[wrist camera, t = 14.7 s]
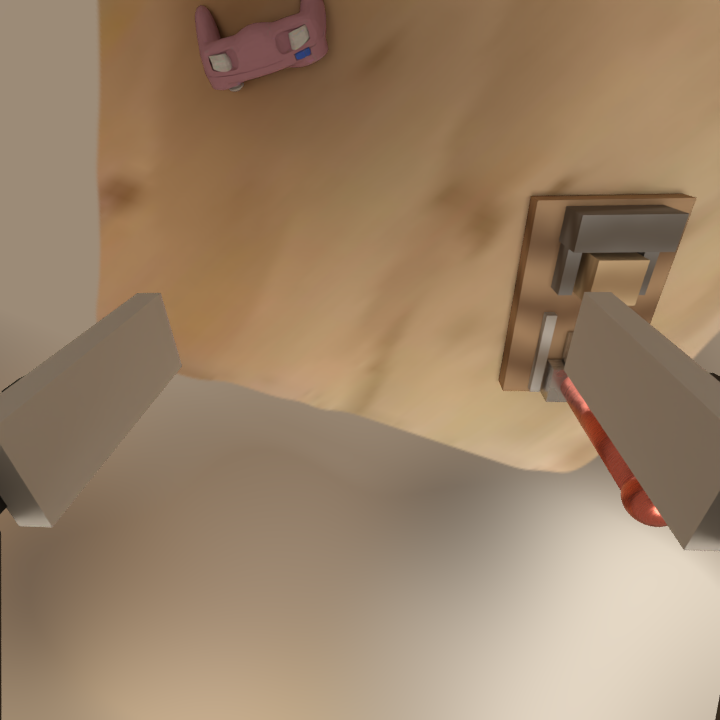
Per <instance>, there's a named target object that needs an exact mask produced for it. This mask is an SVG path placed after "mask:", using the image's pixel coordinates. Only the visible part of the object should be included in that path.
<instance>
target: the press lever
mask: <svg viewBox="0 0 720 720" xmlns="http://www.w3.org/2000/svg"><path fill="white" fill-rule="evenodd" d="M573 333H574V332H568V335H567V339H566V343H565V347H564V351H563V355H562V359H547V363H546V368H545V372H544V376H543V380H542V384H541V388H540V392H541V394H542V395H543V397H544V399H545V401H546V402H567V403H568V404H569V406H570V408H571V409H572V411H573V413H574V414H575V416H576V417H577V419H578V421H579V422H580V424H581V426H582V427H583V429H584V431H585V432H586V434H587V436H588V437H589V439H590V441H591V442H592V444H593V445H594V447H595V449H596V450H597V452H598V454H599V455H600V457H601V459H602V460H603V462H604V463H605V465H606V467H607V468H608V470H609V472H610V473H611V475H612V477H613V478H614V480H615V481H616V483H617V485H618V487H619V488H620V490H621V500H622V503H623V505H624V508H625V509H626V511H627V512H628V513H629V514H630V515H631V516H632V517H633V518H634V519H636V520H637V521H639V522H641V523H643V524H645V525H649V526H654V527H663V526H668V525H667V524H666V522H665V521H664V519H663V518H662V516H661V515H660V513H659V512H658V510H657V509H656V507H655V506H654V504H653V503H652V501H651V500H650V498H649V497H648V495H647V494H646V492H645V491H644V489H643V488H642V486H641V485H640V483H639V482H638V480H637V479H636V477H635V476H634V474H633V473H632V471H631V470H630V468H629V467H628V465H627V464H626V462H625V461H624V459H623V458H622V456H621V455H620V453H619V452H618V450H617V449H616V447H615V446H614V444H613V443H612V441H611V440H610V438H609V437H608V435H607V434H606V432H605V431H604V429H603V428H602V426H601V425H600V423H599V422H598V420H597V419H596V417H595V416H594V414H593V413H592V412H591V410H590V409H589V407H588V406H587V404H586V403H585V401H584V400H583V398H582V397H581V395H580V394H579V392H578V391H577V389H576V388H575V386H574V385H573V383H572V382H571V380H570V379H569V377H568V376H567V374H566V373H565V371H564V366H565V363H566V359H567V355H568V351H569V348H570V344H571V340H572V336H573Z"/></svg>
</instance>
